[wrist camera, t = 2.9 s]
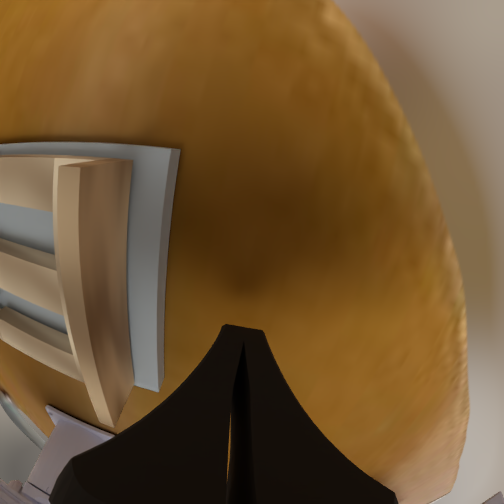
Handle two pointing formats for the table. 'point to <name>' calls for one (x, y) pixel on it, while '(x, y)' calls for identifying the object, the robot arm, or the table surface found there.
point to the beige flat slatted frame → (73, 271)
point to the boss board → (138, 244)
